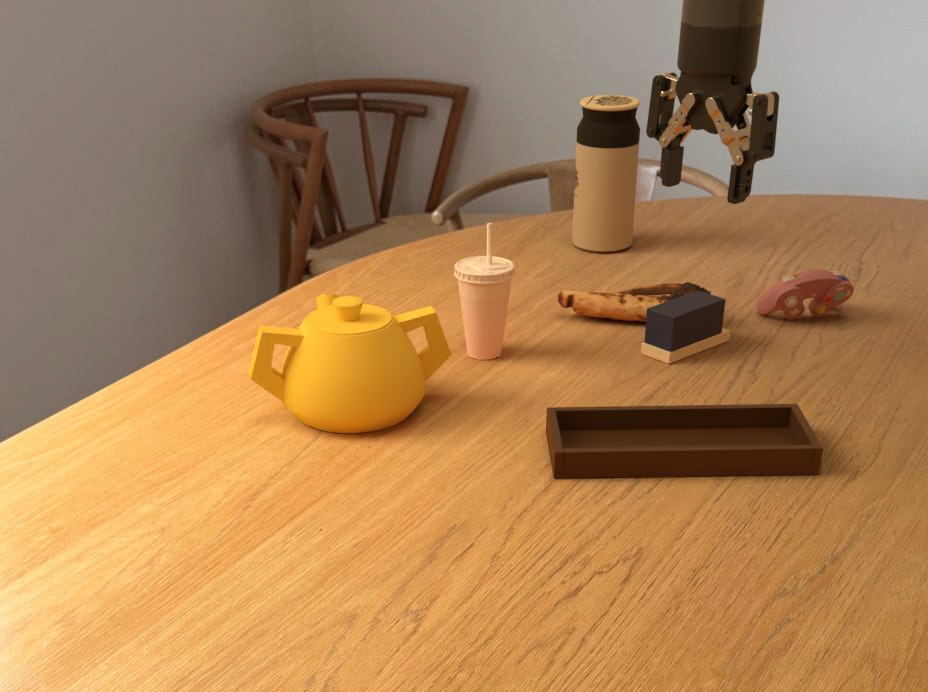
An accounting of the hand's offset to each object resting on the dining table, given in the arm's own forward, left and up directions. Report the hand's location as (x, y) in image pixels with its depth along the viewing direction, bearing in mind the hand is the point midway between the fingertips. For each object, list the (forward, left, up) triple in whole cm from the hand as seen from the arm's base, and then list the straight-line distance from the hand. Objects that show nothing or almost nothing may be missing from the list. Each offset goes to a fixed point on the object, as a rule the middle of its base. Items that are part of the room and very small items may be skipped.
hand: (702, 193), depth 127 cm
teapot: (+36, +12, -17) cm, 42 cm away
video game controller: (-15, -10, -17) cm, 24 cm away
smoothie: (+22, 0, -17) cm, 28 cm away
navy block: (0, -1, -17) cm, 17 cm away
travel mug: (+5, -38, -17) cm, 41 cm away
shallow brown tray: (+5, +25, -17) cm, 31 cm away
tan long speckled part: (+4, -11, -17) cm, 20 cm away
